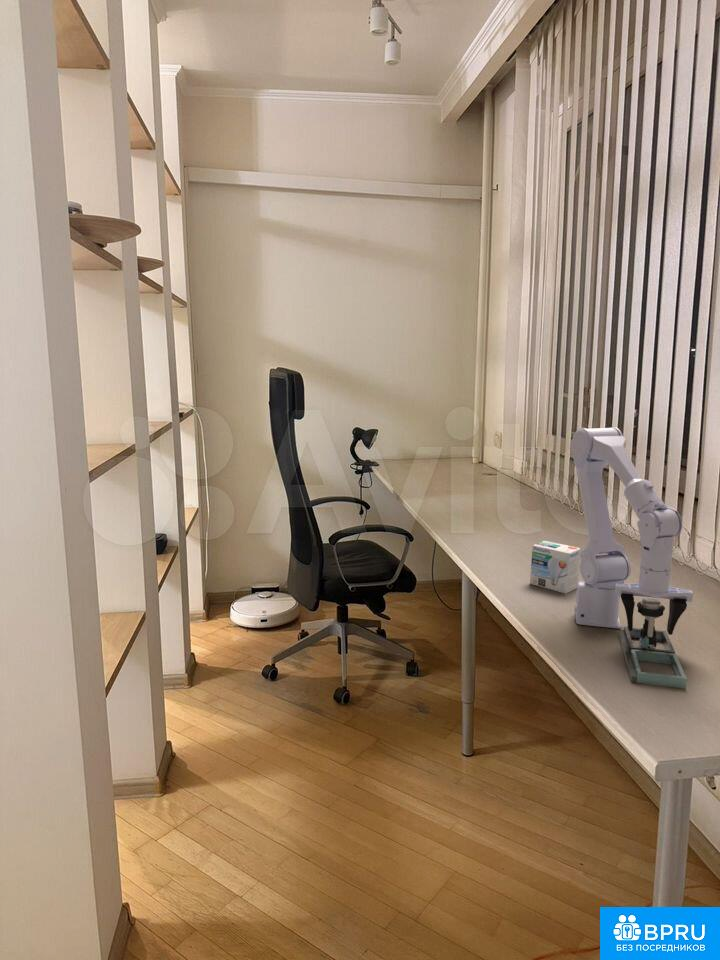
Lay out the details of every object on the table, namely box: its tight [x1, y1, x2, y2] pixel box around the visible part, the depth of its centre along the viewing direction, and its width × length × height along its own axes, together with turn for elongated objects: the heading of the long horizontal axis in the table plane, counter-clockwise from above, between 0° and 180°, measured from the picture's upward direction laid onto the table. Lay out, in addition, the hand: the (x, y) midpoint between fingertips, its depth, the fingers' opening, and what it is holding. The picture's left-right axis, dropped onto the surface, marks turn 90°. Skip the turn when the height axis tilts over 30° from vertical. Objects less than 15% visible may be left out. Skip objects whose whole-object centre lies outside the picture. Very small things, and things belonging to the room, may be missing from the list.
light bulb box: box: [529, 540, 582, 595], centre depth 181 cm, size 11×7×11 cm, turn 47°
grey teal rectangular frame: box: [618, 626, 688, 690], centre depth 139 cm, size 9×22×2 cm, turn 166°
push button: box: [636, 597, 666, 649], centre depth 144 cm, size 7×5×10 cm
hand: (649, 630), depth 144 cm, fingers open, 7 cm apart
